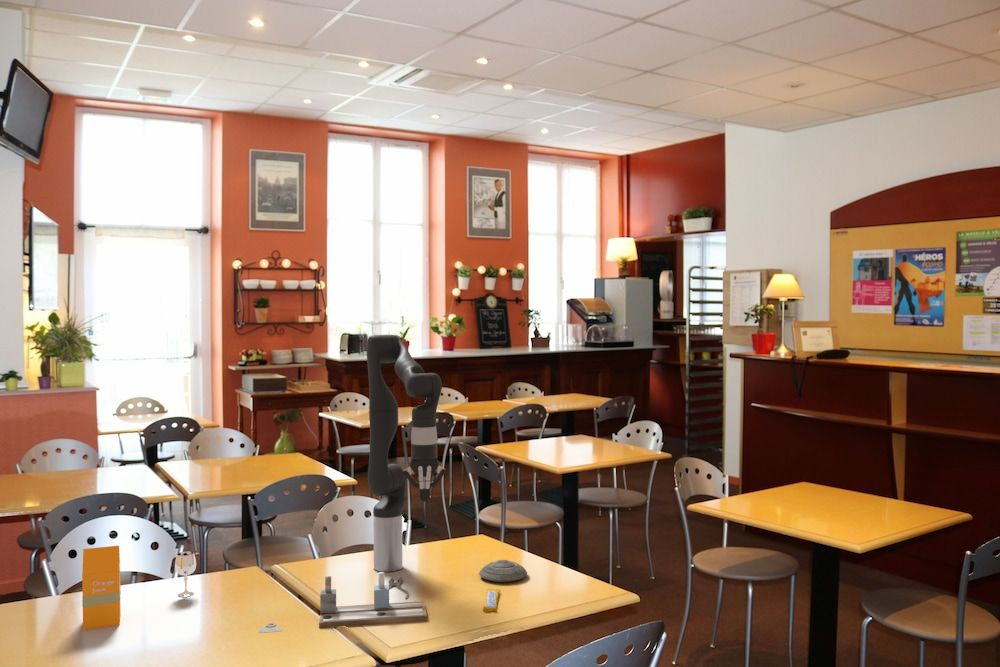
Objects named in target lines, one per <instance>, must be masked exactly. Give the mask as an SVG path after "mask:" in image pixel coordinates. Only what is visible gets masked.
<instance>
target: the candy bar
mask: <svg viewBox="0 0 1000 667" xmlns="http://www.w3.org/2000/svg"><path fill="white" fill-rule="evenodd" d="M501 592H502V590H501V589H497V588H496V589H495V588H494V589H486V598H485V603H484V606H483V607H482V612H484V613H488V612H489V613H492V612H493V613H494V612H497V611H498V608H497V607H498V602H499V598H500V593H501Z"/></svg>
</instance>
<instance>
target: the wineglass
mask: <svg viewBox="0 0 1000 667" xmlns="http://www.w3.org/2000/svg"><path fill="white" fill-rule="evenodd" d="M174 562H175V563H174V569H175V573H177V575H180V576H181V577H183V582H184V591H183V592H180V593H178V594H177V597H178V598H186V597H187V598H188V597H191V596H194V594H195V593H194V592H193V591H188V588H187V587H188V584H187V583H188V576H189V575H191V574H193V573H194V572H195V571H196V568H197V559H196V556H195V552H194V551H190V550H189V551H181V552H178V553H177V554H176V558H175V561H174Z"/></svg>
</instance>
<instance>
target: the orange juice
mask: <svg viewBox="0 0 1000 667" xmlns="http://www.w3.org/2000/svg"><path fill="white" fill-rule="evenodd" d="M81 574H82V576H81V578H82V579H81V580H82V583H81V584H82V587H81V588H82V602H81V603H82V604H81V605H82V630H83V631H85V630H91V629H97V628H98V629H99V628H106V627H113V626H114V627H115V626H121V618H122V617H121V613H122V612H121V594H122V593H121V592H122V591H121V560H120V545H111V546H109V545H108V546H102V547H101V546H99V547H91V548H83V550H82V573H81Z"/></svg>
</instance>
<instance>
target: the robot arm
mask: <svg viewBox="0 0 1000 667" xmlns="http://www.w3.org/2000/svg"><path fill="white" fill-rule="evenodd" d="M365 351H366V352H365V353H366V362H367V372H368V387H369V388H368V389H369V393H368V394H369V395H368V397H369V398H368V400H369V403H368V406H369V407H368V408H369V409H368V414H369V455H368V456H369V457H368V467H367V483H368V488H369V490H370V493H372V494H373V495H374V496H378V497H381V498H380V500H379V501H378V502H377V503H376V504H375V505H374V506H373V509H372V510H373V512H372V513H373V515H372V518H373V525H372V526H373V569H374V570H375V571H377V572H384V573H386V572H387V573H389V572H396V571H398V570H402V568H403V509H404V506H405V501H406V500H405V499H406V498H405V497H406V479H407V480H408V481H409V483H410V484H411V485H412V486H413V488H417V489H419V499H420V501H421V502H422V503H427V502H428V501H429V500H430V498H431V497H430V496H431V495H430V494H431V493H430V491H431V490H430V489H431V488H433V487H436V486H437V484H439V482H440V481H441V479H442V478H443V476H444V475H445V474H446V473H447V471H446V470H447V469H446V468H445V467H443V466H440V464H439V460H438V431H437V409H438V406H439V402H440V401H439V400H440V398H441V393H442V391H443V390H442V388H443V383H442V379H441V377H440V375H439V374H438V373H435V372H428V373H427V372H426V371H425V370H424V368H423V366H422V365H420V364H419V363H418V362H417V361H416V360H415V359H414V358H413V357H412V355H411V353H410V352H409V350H408V348H407V346H406V345H405V343H404V342H403V340H402V338H401V337H400V336H398V335H396V334H372V335H369V336H368V338H367V340H366V350H365ZM393 363H394V372H395V374H396V376H397V377H398V378H399V379H400V380H401V381H402V382H403V385H404V388H405V391H406V394H407V396H409V397H411V398H413V399H419V398H420V399H421V398H426V399H425V401H424V403H422V404H420V405H417V406H414V407H412V411H411V433H410V435H411V436H410V445H411V447H410V449H411V452H410V455H411V456H410V462H409V466H408V467H407V468H404V469H403V468H402V467H401V466H400V465H399V464H396V463H390V464H389V460H388V459H389V450H390V448H391V445H392V441H393V440H394V438H395V435H396V432H397V429H398V425H399V405H398V404H399V403H398V401H397V399H396V397H395V396H394V394H393V392H392V391H391V389H390V388H389V387H388V384H386V381H385V379H384V376H383V373H382V370H381V369H382V368H381V364H393ZM425 372H426V373H425ZM412 472H413V473H414V475H416V477H418V481H416V479H415V478H414V477H413V476H412ZM435 472H436V473H437V474H436V475H435V476H434V478H433V480H431V477H432V476H433V475H434V474H435ZM424 478H425V480H424ZM424 481H425V482H424Z"/></svg>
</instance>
